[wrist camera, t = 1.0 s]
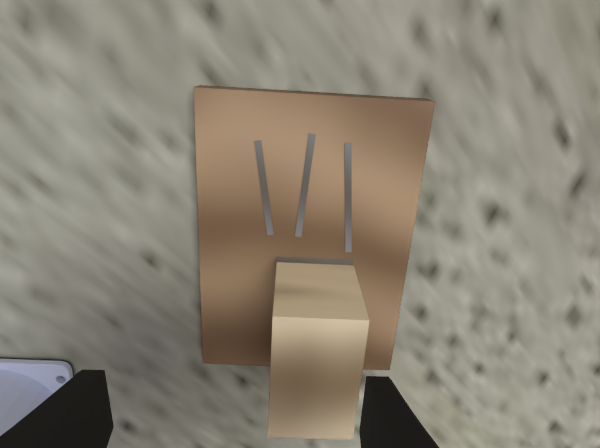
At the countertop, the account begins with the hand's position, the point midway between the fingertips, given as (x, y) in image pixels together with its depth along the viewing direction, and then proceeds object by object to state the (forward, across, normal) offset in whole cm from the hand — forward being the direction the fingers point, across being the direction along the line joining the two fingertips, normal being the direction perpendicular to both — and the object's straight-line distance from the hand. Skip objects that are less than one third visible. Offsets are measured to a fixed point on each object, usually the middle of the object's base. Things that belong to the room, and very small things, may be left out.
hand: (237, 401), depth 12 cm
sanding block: (+9, -2, +3) cm, 10 cm away
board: (+10, -2, 0) cm, 11 cm away
